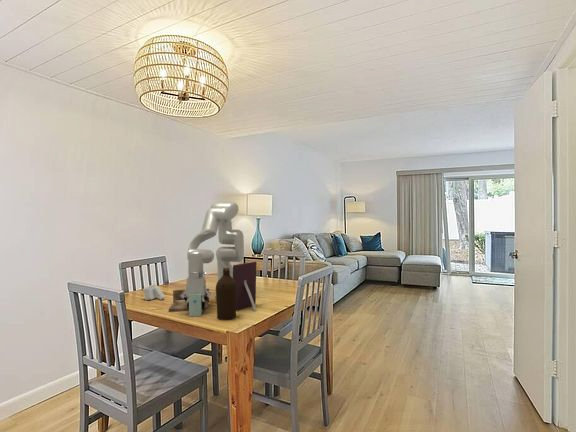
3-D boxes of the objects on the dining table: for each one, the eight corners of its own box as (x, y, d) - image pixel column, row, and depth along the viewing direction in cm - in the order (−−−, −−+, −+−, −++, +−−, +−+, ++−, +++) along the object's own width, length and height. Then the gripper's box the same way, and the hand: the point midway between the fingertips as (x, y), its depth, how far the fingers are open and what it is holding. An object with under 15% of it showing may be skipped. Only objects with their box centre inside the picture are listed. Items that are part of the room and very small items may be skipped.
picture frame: (254, 304, 185) (253, 261, 185) (266, 307, 179) (266, 262, 179) (231, 311, 173) (231, 264, 172) (244, 315, 166) (244, 266, 166)
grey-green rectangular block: (202, 311, 173) (202, 290, 173) (200, 316, 164) (200, 294, 164) (191, 311, 172) (191, 291, 172) (188, 317, 163) (188, 295, 163)
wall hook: (161, 300, 192) (157, 284, 193) (146, 303, 194) (142, 287, 195) (169, 297, 200) (165, 281, 201) (154, 300, 202) (151, 284, 203)
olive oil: (239, 318, 160) (239, 268, 160) (218, 321, 156) (217, 270, 156) (234, 312, 170) (234, 265, 170) (214, 315, 166) (213, 267, 166)
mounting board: (209, 303, 189) (209, 288, 189) (206, 310, 175) (206, 294, 175) (173, 304, 186) (173, 290, 186) (168, 311, 172) (168, 296, 172)
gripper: (213, 273, 173) (213, 306, 173) (180, 274, 171) (180, 308, 171) (212, 275, 166) (212, 310, 166) (177, 276, 163) (177, 312, 163)
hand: (196, 308), depth 168 cm, fingers closed on grey-green rectangular block, 6 cm apart
